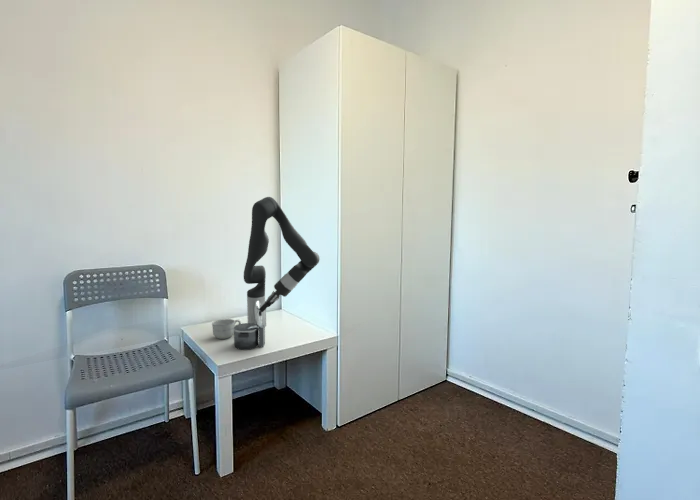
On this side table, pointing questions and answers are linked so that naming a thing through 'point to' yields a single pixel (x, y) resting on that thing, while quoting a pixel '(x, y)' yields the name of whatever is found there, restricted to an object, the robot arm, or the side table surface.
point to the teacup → (224, 328)
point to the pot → (249, 336)
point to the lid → (258, 314)
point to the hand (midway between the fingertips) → (260, 310)
